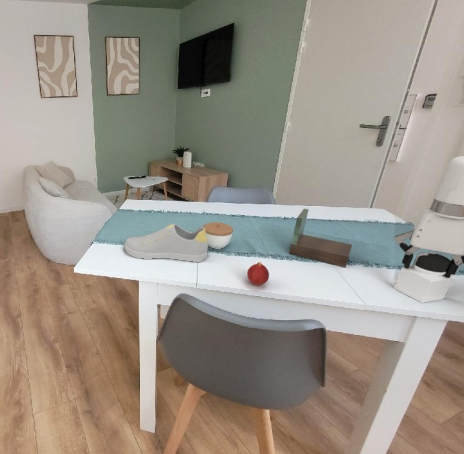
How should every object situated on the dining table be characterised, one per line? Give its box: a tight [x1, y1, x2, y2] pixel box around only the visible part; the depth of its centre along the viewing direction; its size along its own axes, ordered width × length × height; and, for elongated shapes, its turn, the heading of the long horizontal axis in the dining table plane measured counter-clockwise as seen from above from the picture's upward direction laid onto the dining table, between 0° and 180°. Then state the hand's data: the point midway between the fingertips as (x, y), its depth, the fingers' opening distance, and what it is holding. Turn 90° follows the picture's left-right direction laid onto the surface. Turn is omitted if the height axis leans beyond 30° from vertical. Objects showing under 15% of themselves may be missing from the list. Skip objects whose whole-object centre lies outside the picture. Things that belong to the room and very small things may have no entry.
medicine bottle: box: [393, 251, 455, 304], centre depth 78 cm, size 7×7×12 cm
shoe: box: [124, 223, 209, 263], centre depth 106 cm, size 10×30×12 cm, turn 71°
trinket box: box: [202, 221, 234, 250], centre depth 111 cm, size 11×11×9 cm
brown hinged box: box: [288, 208, 353, 268], centre depth 100 cm, size 16×11×14 cm
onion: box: [246, 261, 270, 287], centre depth 86 cm, size 6×6×8 cm
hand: (425, 270), depth 78 cm, fingers closed on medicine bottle, 6 cm apart
